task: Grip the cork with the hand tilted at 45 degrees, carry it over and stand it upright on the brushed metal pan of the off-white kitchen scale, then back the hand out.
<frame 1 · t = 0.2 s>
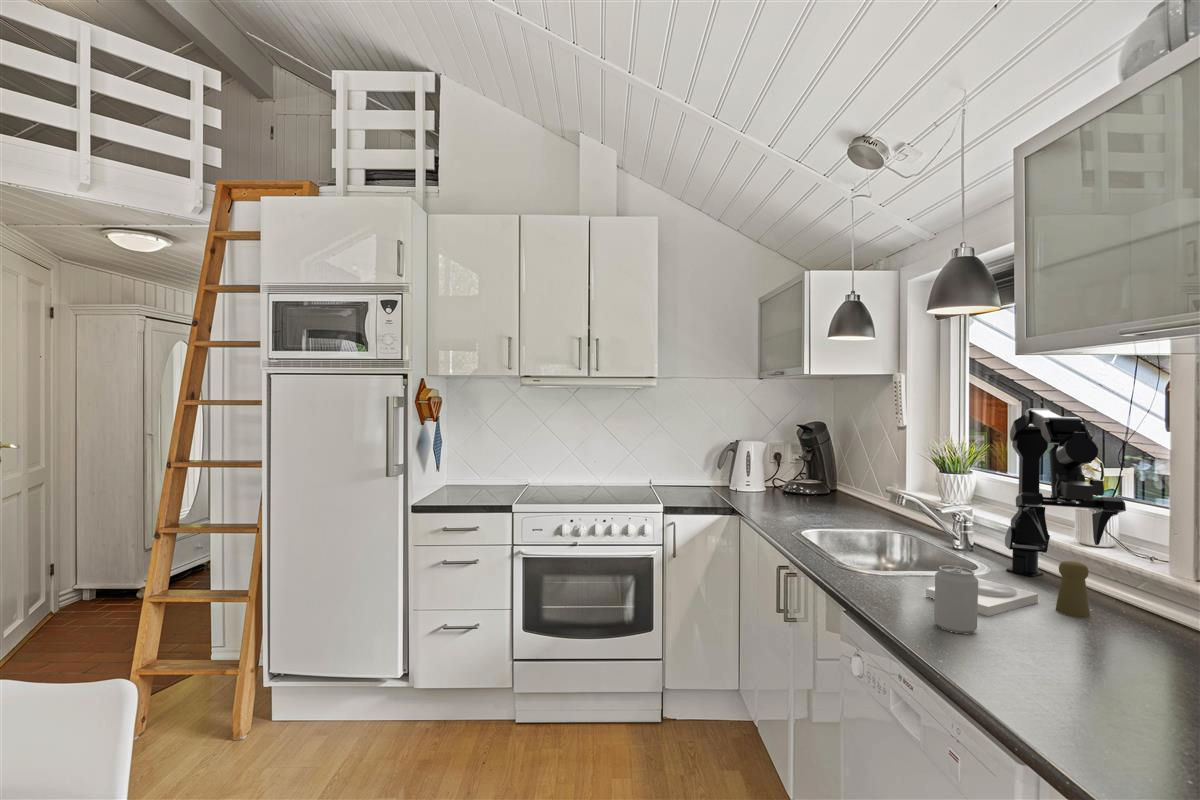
hand: (1071, 542, 135), 15 cm above the table, tool tilted 15°, fingers open, 9 cm apart
cork: (1072, 613, 135), on the table
can: (955, 629, 125), on the table
kitchen scale: (987, 598, 144), on the table
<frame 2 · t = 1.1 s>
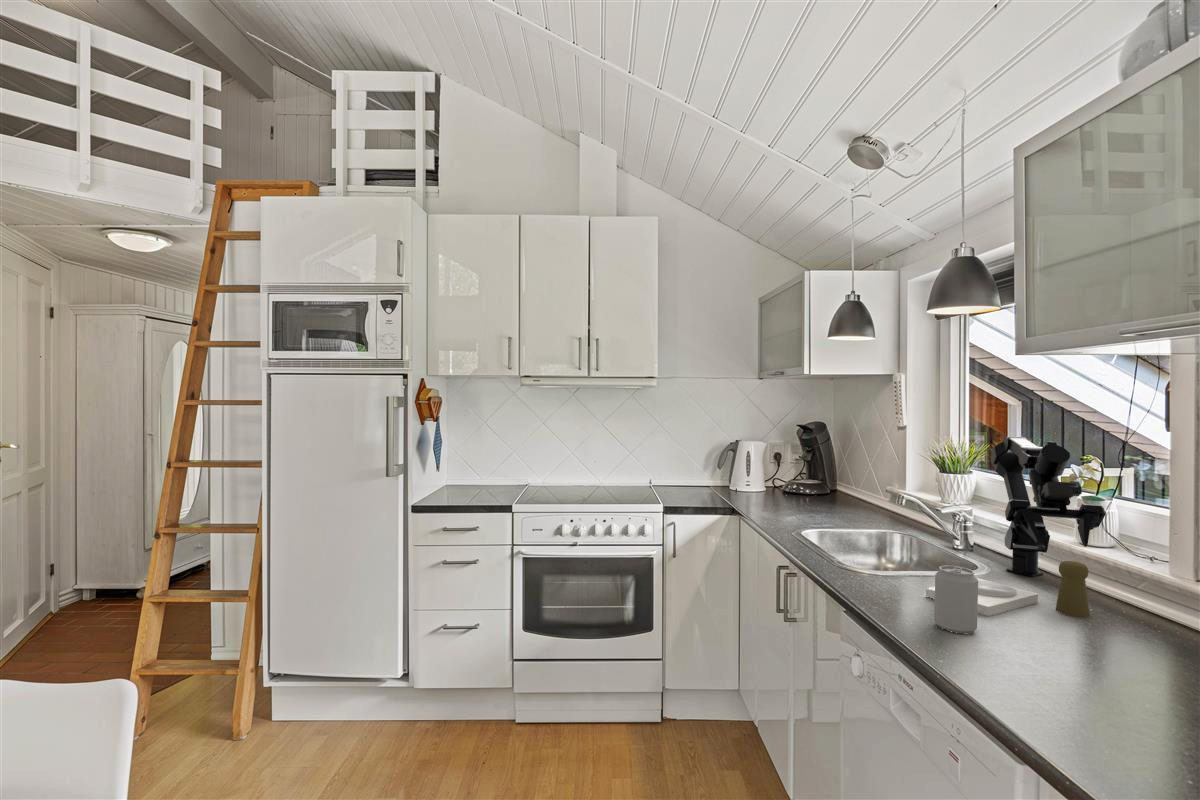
hand: (1061, 543, 142), 13 cm above the table, tool tilted 45°, fingers open, 9 cm apart
nothing on the table moved.
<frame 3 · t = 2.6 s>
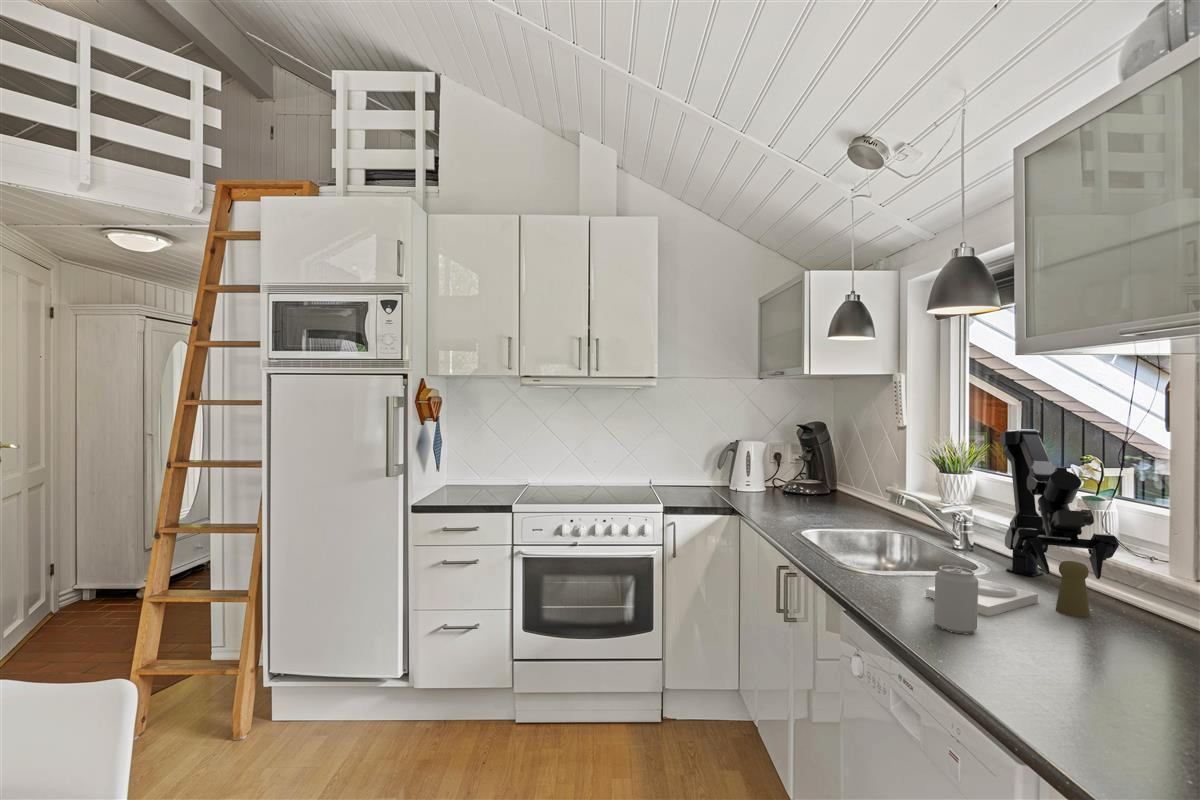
hand: (1073, 575, 135), 8 cm above the table, tool tilted 45°, fingers open, 9 cm apart
nothing on the table moved.
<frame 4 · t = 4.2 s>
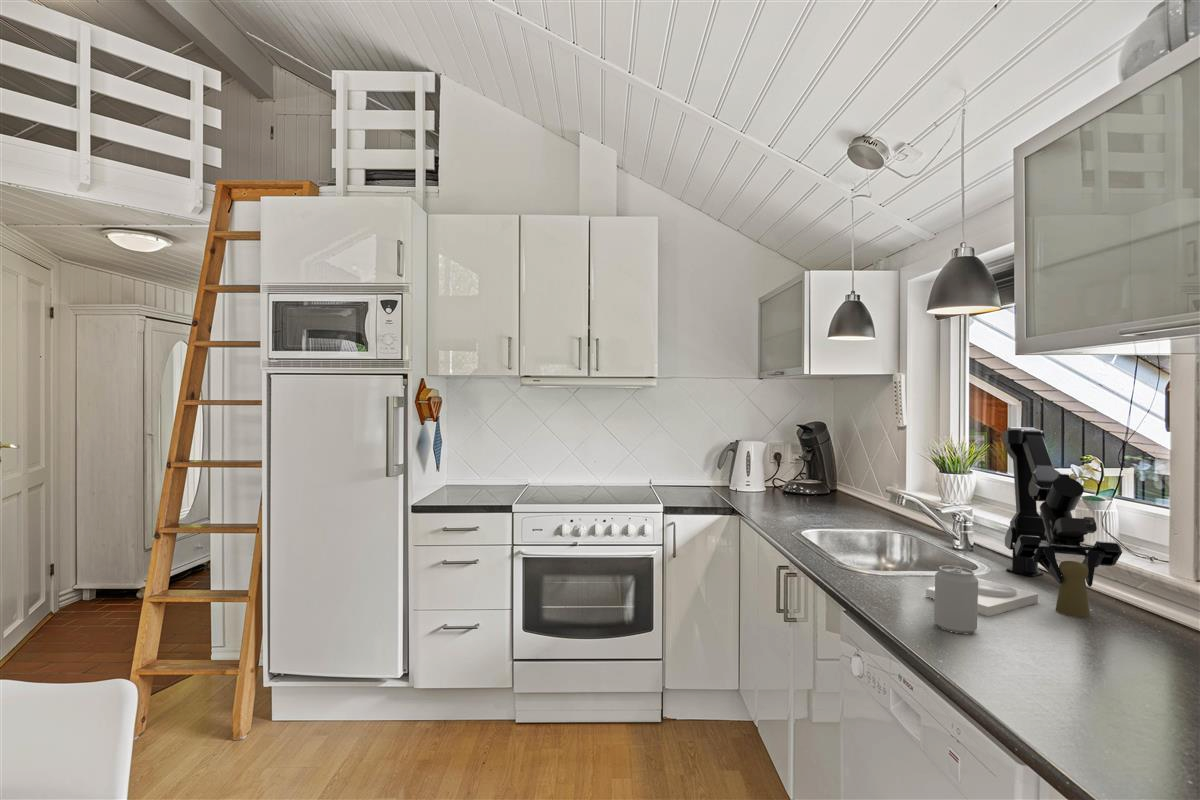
hand: (1075, 584, 134), 7 cm above the table, tool tilted 45°, fingers closed on cork, 5 cm apart
cork: (1072, 613, 135), on the table, touching gripper
everything else where it was.
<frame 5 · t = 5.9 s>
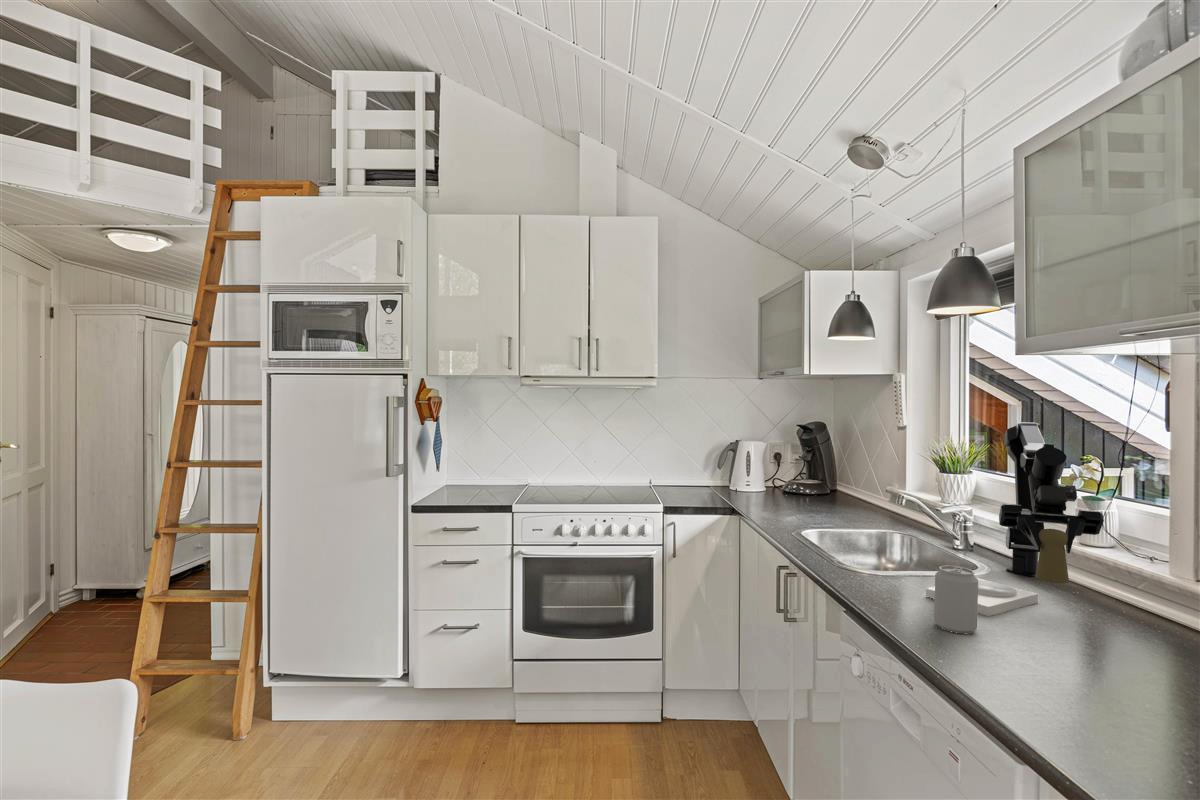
hand: (1053, 550, 136), 13 cm above the table, tool tilted 45°, fingers closed on cork, 5 cm apart
cork: (1052, 580, 137), point 6 cm above the table, touching gripper
everything else where it was.
when the fingers open (11 cm above the table, at t = 8.1 s): cork drops 1 cm, resting on kitchen scale.
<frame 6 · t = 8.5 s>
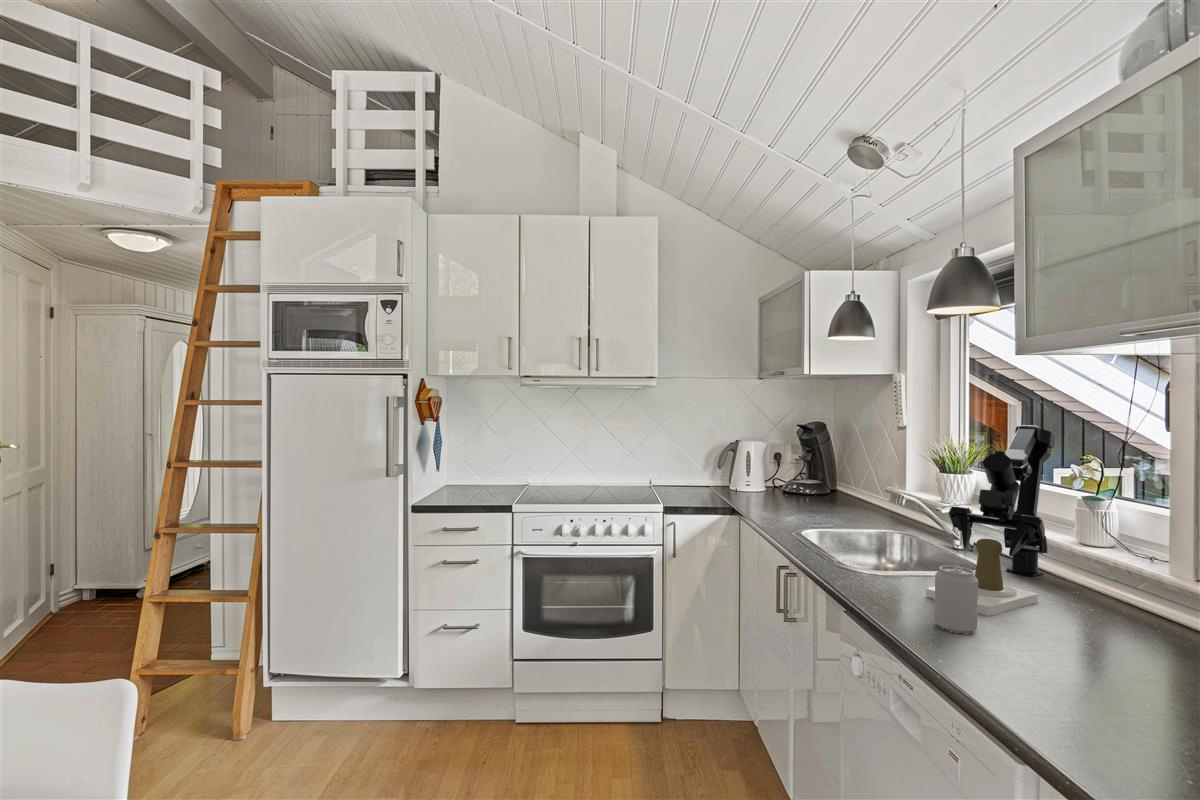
hand: (987, 551, 143), 11 cm above the table, tool tilted 45°, fingers open, 9 cm apart
cork: (988, 587, 144), point 2 cm above the table, touching kitchen scale
everything else where it was.
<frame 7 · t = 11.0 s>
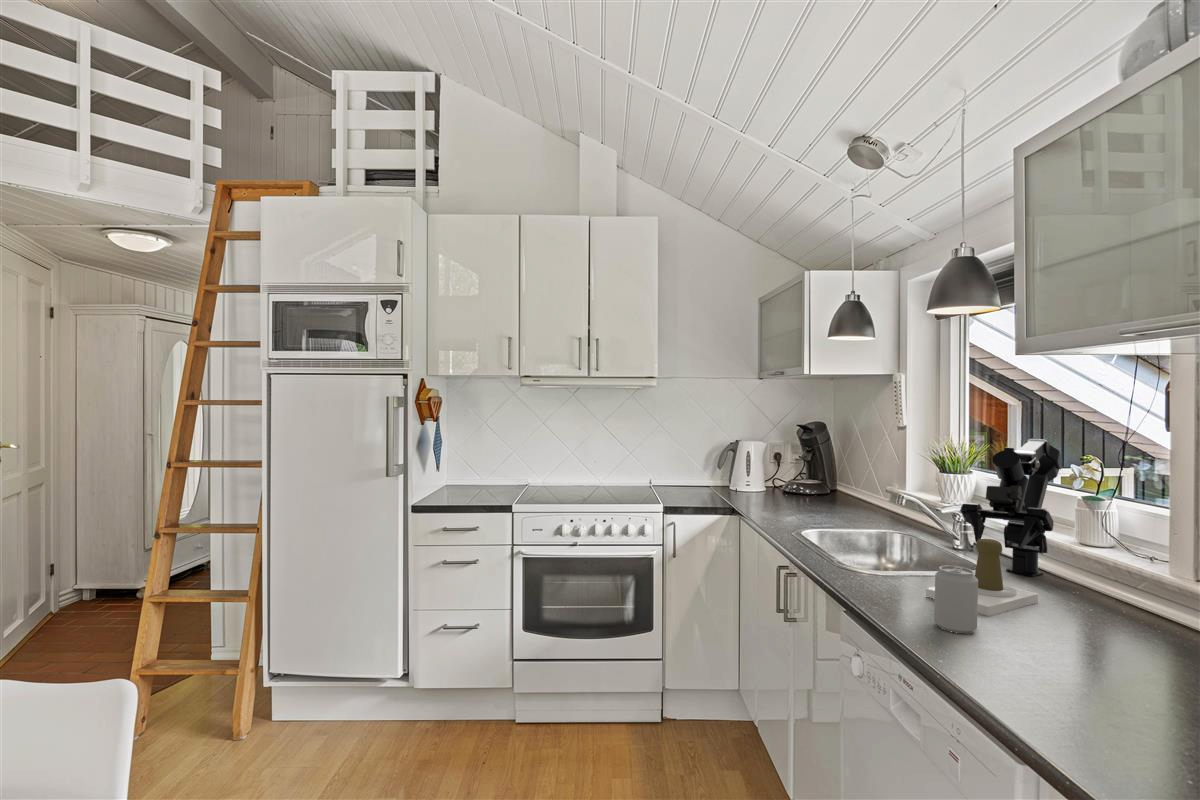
hand: (997, 545, 150), 11 cm above the table, tool tilted 40°, fingers open, 9 cm apart
nothing on the table moved.
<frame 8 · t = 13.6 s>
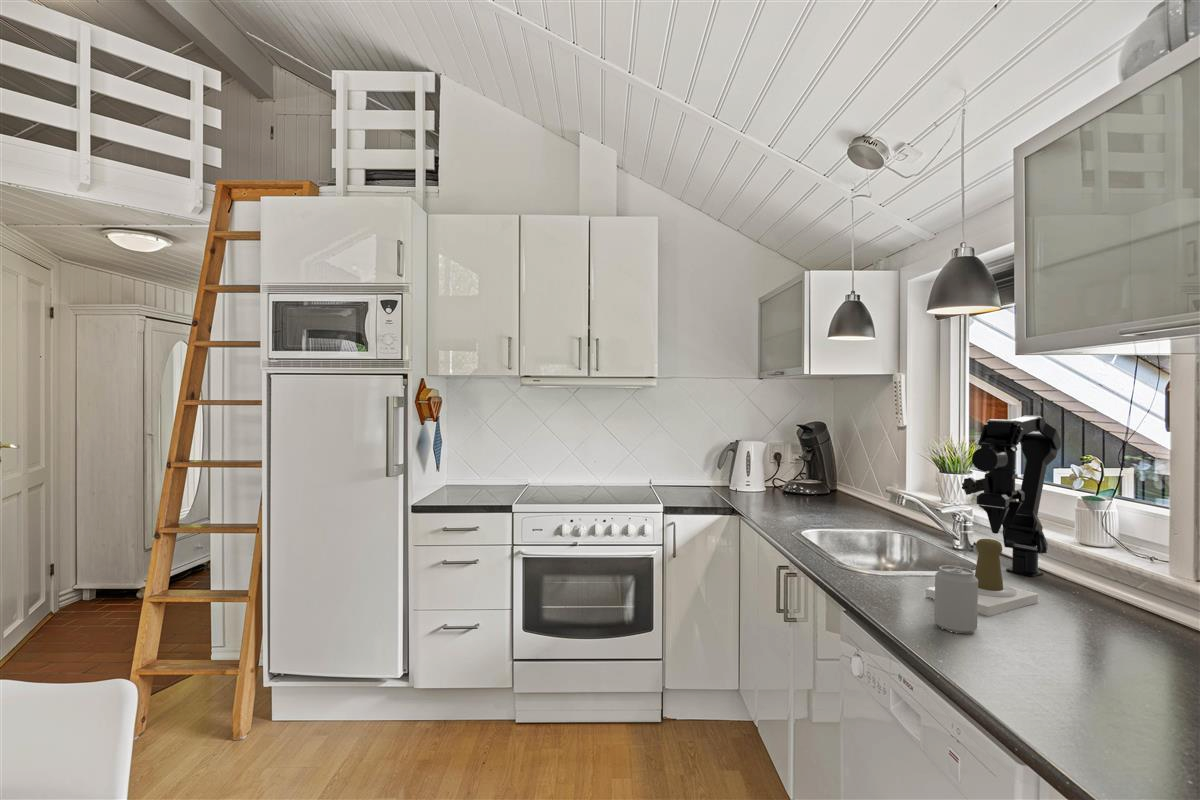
hand: (1000, 530, 157), 13 cm above the table, tool pointing down, fingers open, 9 cm apart
nothing on the table moved.
at the end: cork 0.1 cm off-centre on the kitchen scale, point 2.4 cm above the kitchen scale's base; cork tilted 0°; the gripper is holding nothing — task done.
